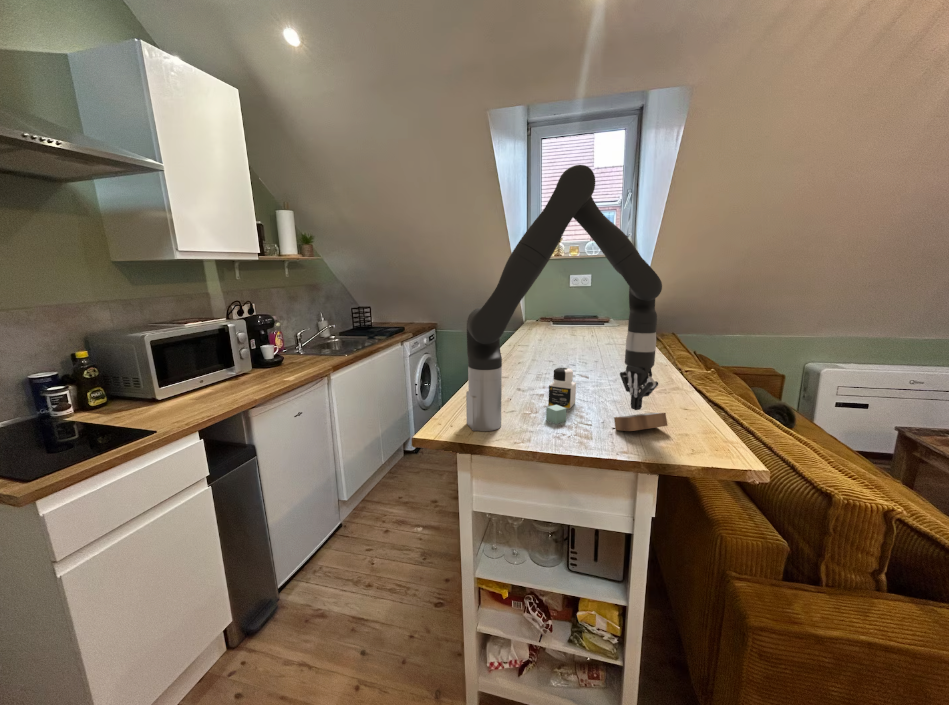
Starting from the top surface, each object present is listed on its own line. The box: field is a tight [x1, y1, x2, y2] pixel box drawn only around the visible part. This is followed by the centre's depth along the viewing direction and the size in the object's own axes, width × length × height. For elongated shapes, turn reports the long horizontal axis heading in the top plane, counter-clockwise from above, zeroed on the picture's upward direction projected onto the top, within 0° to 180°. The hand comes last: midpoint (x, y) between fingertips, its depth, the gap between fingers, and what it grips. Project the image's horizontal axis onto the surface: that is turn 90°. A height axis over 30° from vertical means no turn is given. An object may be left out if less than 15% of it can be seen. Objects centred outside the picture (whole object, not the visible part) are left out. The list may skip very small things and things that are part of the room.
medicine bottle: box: [548, 367, 577, 410], centre depth 130 cm, size 7×7×12 cm
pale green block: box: [545, 405, 567, 425], centre depth 117 cm, size 4×4×4 cm
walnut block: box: [613, 412, 668, 432], centre depth 109 cm, size 6×4×12 cm
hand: (635, 409), depth 112 cm, fingers closed
